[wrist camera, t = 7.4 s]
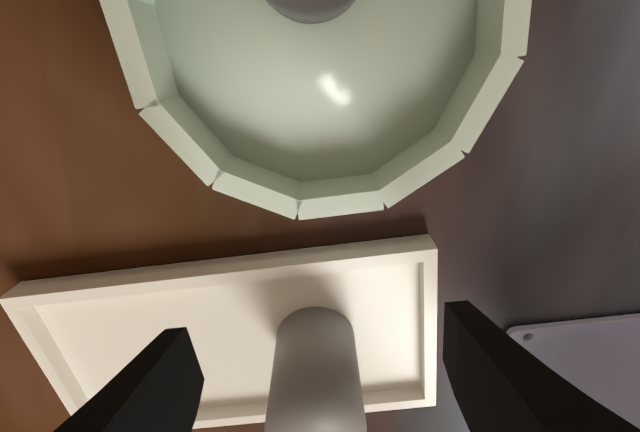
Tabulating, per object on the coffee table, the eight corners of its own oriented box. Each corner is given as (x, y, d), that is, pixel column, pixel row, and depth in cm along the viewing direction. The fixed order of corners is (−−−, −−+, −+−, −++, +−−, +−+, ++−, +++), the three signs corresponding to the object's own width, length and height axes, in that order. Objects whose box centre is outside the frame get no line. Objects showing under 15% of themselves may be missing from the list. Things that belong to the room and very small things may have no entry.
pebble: (350, 302, 18) (362, 389, 13) (357, 361, 19) (370, 457, 15) (270, 311, 18) (254, 400, 13) (284, 369, 19) (274, 466, 15)
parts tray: (428, 233, 17) (437, 248, 15) (428, 384, 21) (435, 405, 20) (21, 281, 18) (-3, 299, 16) (99, 416, 22) (85, 439, 20)
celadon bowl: (508, -246, 10) (567, -336, 8) (481, 172, 15) (511, 194, 13) (85, -172, 11) (20, -235, 8) (198, 207, 16) (177, 234, 14)
